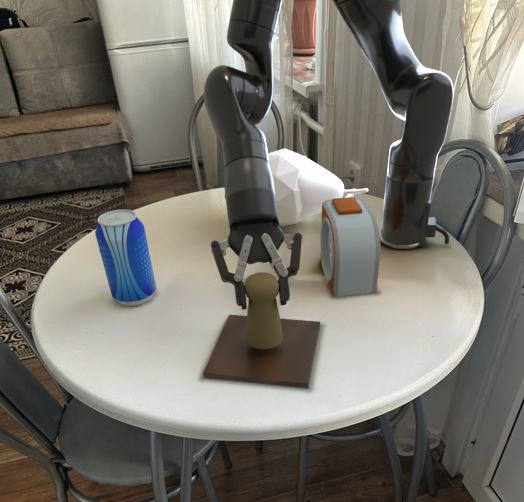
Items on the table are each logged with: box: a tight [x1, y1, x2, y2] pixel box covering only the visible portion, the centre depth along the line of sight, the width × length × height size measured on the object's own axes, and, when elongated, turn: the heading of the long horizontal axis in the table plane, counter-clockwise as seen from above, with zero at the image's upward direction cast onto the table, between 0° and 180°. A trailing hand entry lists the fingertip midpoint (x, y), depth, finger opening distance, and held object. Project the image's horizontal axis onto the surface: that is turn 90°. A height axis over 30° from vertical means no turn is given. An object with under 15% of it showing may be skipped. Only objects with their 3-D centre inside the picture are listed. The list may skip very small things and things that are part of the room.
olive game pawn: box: [244, 271, 283, 349], centre depth 76 cm, size 6×6×11 cm
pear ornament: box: [268, 147, 369, 228], centre depth 117 cm, size 16×22×28 cm
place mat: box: [202, 314, 321, 389], centre depth 81 cm, size 16×16×1 cm
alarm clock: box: [319, 196, 381, 298], centre depth 95 cm, size 15×8×14 cm, turn 5°
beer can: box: [94, 209, 157, 307], centre depth 91 cm, size 8×8×16 cm
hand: (264, 305), depth 74 cm, fingers closed on olive game pawn, 5 cm apart
